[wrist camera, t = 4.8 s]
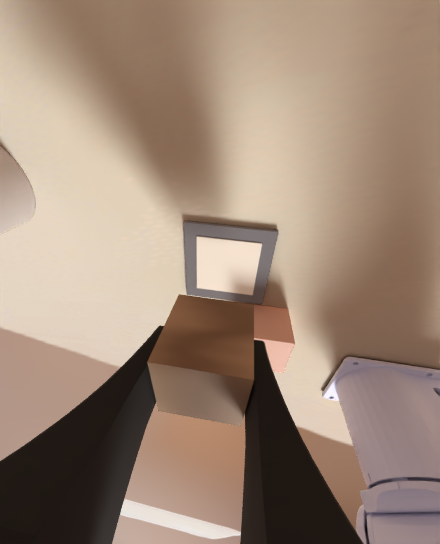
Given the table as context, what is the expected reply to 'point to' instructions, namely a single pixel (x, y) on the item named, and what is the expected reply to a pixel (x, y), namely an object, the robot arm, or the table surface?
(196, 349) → the walnut block
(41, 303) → the table surface
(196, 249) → the mat
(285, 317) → the terracotta block
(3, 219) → the coffee cup
